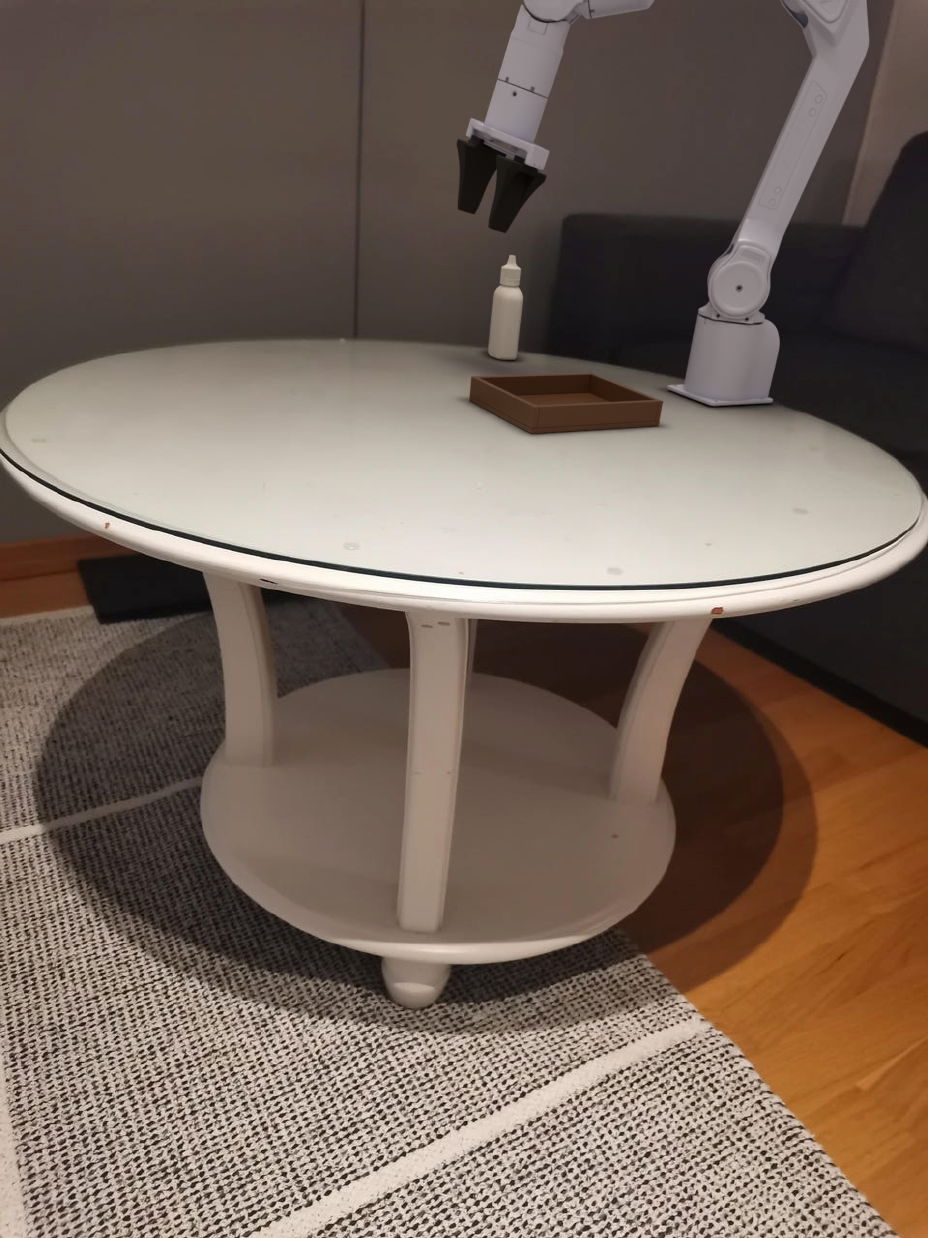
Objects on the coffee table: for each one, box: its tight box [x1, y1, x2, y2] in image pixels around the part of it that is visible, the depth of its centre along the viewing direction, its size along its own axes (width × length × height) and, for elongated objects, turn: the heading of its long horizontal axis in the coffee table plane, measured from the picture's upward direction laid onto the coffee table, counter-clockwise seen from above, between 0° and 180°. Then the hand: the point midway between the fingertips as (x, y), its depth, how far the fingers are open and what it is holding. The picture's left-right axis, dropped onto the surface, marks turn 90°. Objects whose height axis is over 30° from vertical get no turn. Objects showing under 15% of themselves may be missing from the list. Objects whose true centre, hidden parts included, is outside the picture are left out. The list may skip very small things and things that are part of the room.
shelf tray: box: [468, 372, 664, 435], centre depth 95 cm, size 15×12×2 cm
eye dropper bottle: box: [487, 254, 524, 361], centre depth 116 cm, size 4×6×12 cm
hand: (481, 220), depth 106 cm, fingers open, 7 cm apart
